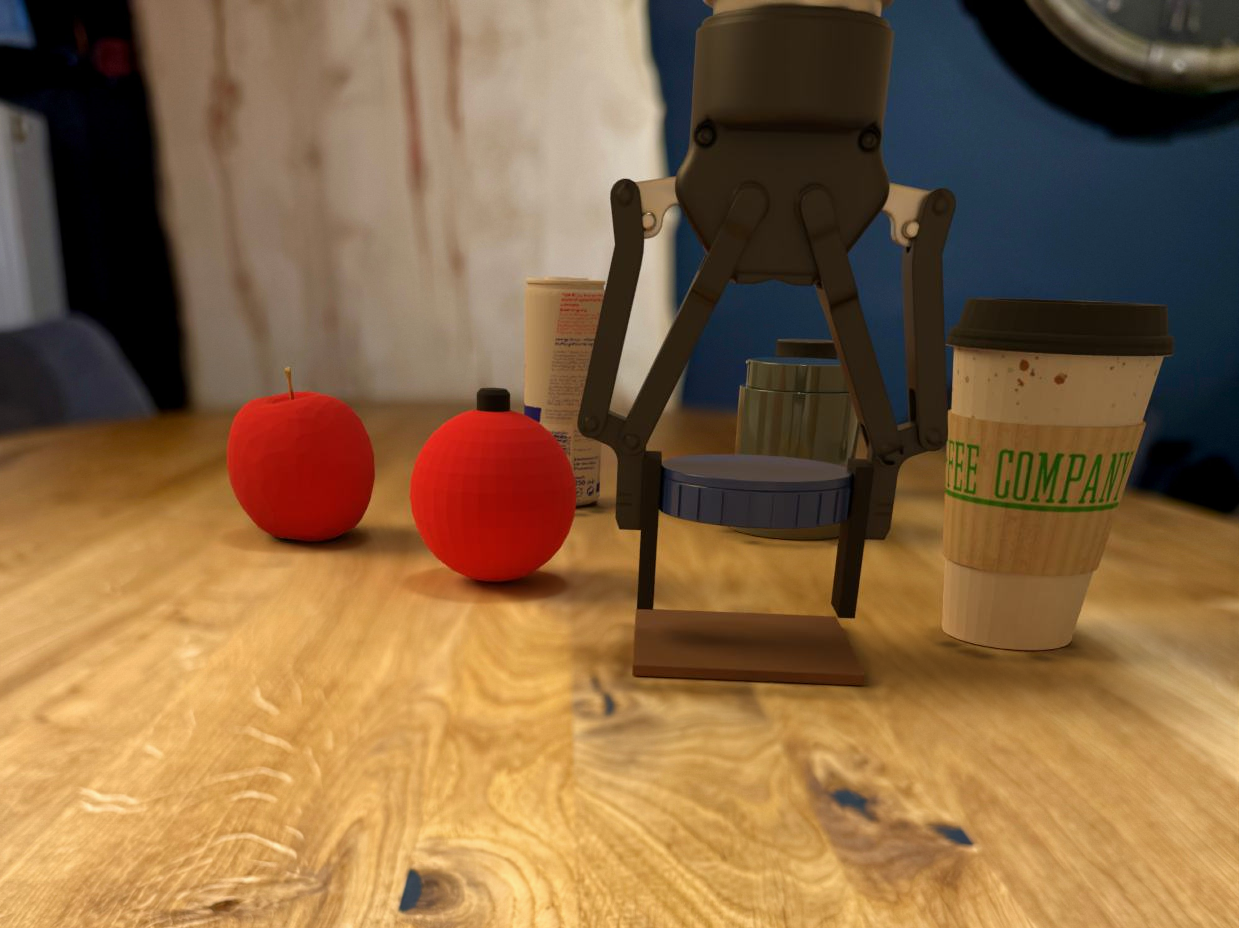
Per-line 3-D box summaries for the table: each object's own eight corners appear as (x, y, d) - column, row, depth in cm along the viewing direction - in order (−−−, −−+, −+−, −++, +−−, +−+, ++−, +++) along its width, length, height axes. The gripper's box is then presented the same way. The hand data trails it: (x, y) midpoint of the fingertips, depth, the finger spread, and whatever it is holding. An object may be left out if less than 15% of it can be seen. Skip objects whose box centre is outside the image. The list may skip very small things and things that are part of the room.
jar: (838, 519, 90) (857, 358, 85) (854, 541, 83) (875, 367, 78) (726, 515, 91) (738, 354, 86) (732, 537, 83) (746, 363, 79)
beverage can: (611, 499, 95) (619, 278, 88) (580, 511, 90) (586, 278, 84) (544, 492, 97) (547, 275, 90) (510, 503, 92) (511, 275, 86)
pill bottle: (847, 492, 101) (865, 342, 96) (787, 497, 98) (802, 342, 93) (798, 481, 106) (813, 337, 101) (739, 485, 103) (751, 337, 98)
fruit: (206, 531, 80) (189, 361, 76) (329, 517, 86) (320, 357, 81) (280, 557, 74) (266, 373, 70) (408, 540, 80) (403, 368, 75)
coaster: (835, 625, 63) (836, 616, 63) (864, 686, 55) (865, 674, 54) (635, 617, 64) (636, 607, 64) (631, 675, 55) (632, 664, 55)
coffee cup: (874, 636, 62) (920, 297, 55) (942, 599, 69) (990, 296, 63) (1081, 673, 57) (1158, 307, 50) (1131, 629, 64) (1203, 305, 58)
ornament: (603, 591, 69) (610, 394, 64) (448, 605, 65) (445, 397, 61) (532, 557, 76) (534, 378, 71) (389, 569, 72) (382, 380, 68)
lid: (712, 489, 62) (715, 448, 61) (877, 510, 58) (883, 467, 57) (620, 512, 55) (622, 466, 54) (800, 537, 51) (805, 488, 50)
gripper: (1049, 37, 51) (958, 596, 61) (528, 24, 52) (522, 578, 62) (1109, 3, 44) (995, 638, 55) (509, -11, 45) (506, 616, 55)
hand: (743, 606), depth 58 cm, fingers closed on lid, 8 cm apart
